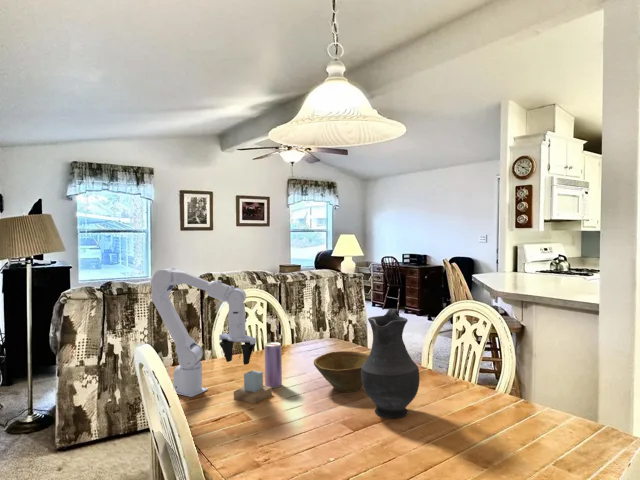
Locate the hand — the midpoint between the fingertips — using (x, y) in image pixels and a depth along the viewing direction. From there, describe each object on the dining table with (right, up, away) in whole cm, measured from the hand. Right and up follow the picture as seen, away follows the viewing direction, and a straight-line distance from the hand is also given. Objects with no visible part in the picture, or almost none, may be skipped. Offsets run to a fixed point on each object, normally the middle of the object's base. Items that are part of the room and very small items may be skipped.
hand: (237, 362), depth 151 cm
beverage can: (+12, -10, +5) cm, 16 cm away
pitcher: (+51, -10, -18) cm, 55 cm away
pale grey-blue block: (+6, -7, -6) cm, 11 cm away
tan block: (+6, -10, -6) cm, 13 cm away
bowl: (+38, -10, +2) cm, 39 cm away
